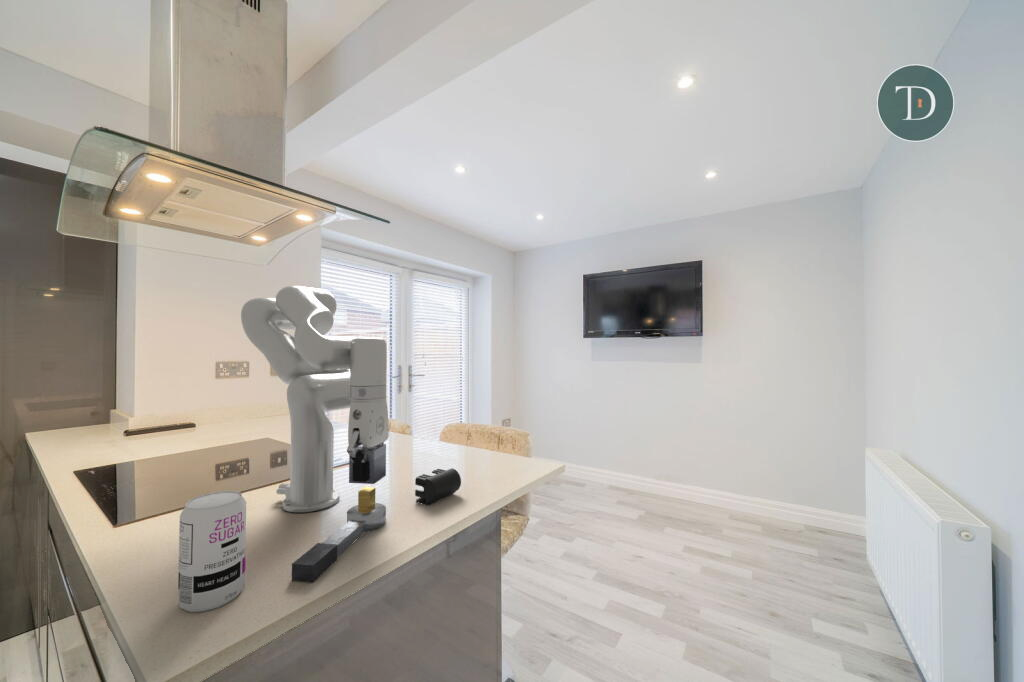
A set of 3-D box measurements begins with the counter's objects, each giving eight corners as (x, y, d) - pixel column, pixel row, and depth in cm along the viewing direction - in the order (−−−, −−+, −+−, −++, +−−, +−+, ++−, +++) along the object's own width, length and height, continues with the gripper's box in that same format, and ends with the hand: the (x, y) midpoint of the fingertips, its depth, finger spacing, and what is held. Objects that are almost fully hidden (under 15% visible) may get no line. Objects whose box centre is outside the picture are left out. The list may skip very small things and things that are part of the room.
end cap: (434, 509, 94) (435, 480, 95) (413, 502, 98) (414, 475, 98) (461, 496, 103) (461, 469, 103) (440, 490, 107) (441, 465, 107)
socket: (349, 482, 84) (349, 449, 84) (362, 474, 89) (362, 443, 89) (374, 484, 83) (374, 450, 83) (385, 475, 89) (386, 444, 89)
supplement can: (202, 582, 64) (204, 490, 65) (255, 580, 65) (257, 489, 65) (163, 616, 56) (165, 510, 56) (224, 613, 57) (226, 509, 57)
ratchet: (279, 579, 65) (280, 534, 65) (358, 515, 91) (359, 482, 91) (324, 583, 64) (325, 537, 64) (391, 517, 90) (392, 483, 90)
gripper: (365, 398, 78) (364, 491, 77) (400, 389, 95) (400, 465, 94) (329, 397, 78) (328, 489, 78) (371, 389, 96) (370, 464, 95)
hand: (367, 475), depth 86 cm, fingers closed on socket, 5 cm apart
